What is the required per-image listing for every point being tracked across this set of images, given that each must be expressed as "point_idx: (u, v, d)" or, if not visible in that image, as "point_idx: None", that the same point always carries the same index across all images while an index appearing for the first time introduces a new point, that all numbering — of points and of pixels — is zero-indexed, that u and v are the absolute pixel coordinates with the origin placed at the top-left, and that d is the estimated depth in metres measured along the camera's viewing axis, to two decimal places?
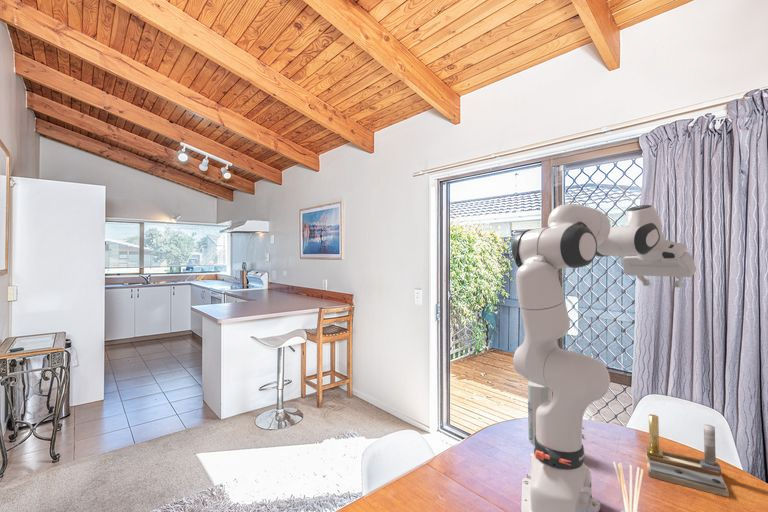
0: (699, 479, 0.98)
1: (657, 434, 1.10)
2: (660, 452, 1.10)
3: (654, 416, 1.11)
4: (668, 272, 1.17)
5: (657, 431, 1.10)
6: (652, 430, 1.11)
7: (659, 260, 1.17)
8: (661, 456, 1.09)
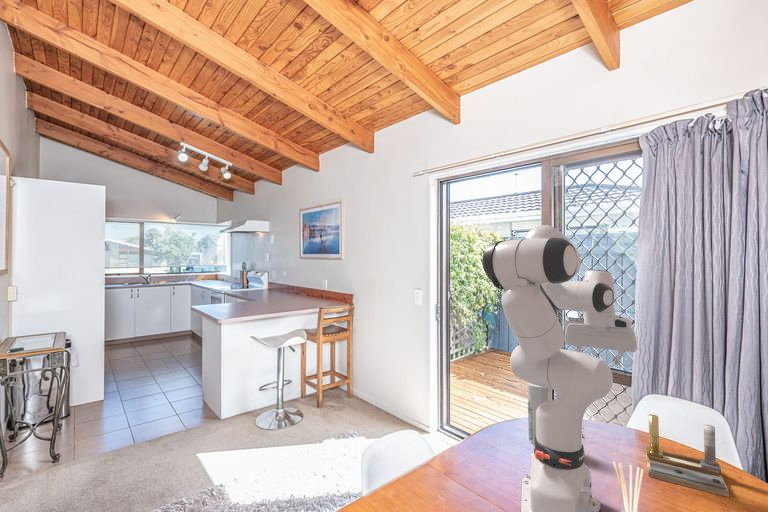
0: (699, 479, 0.98)
1: (657, 434, 1.10)
2: (660, 452, 1.10)
3: (654, 416, 1.11)
4: (613, 344, 1.13)
5: (657, 431, 1.10)
6: (652, 430, 1.11)
7: (607, 330, 1.14)
8: (661, 456, 1.09)
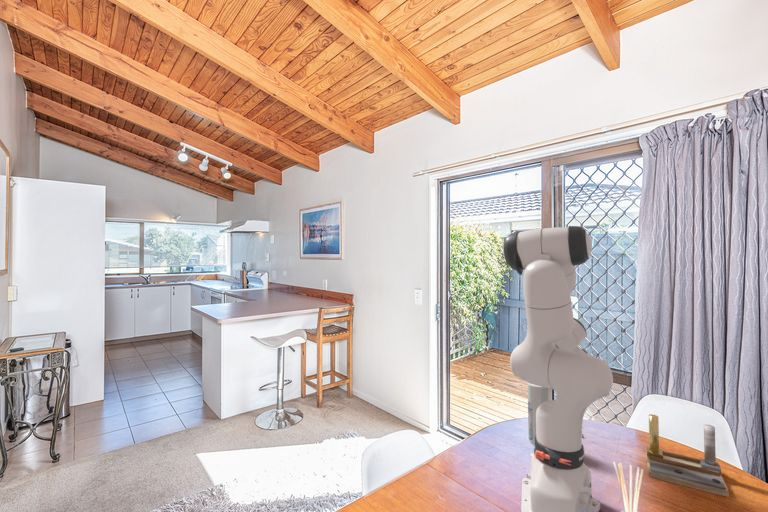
0: (699, 479, 0.98)
1: (657, 434, 1.10)
2: (660, 452, 1.10)
3: (654, 416, 1.11)
4: None
5: (657, 431, 1.10)
6: (652, 430, 1.11)
7: None
8: (661, 456, 1.09)
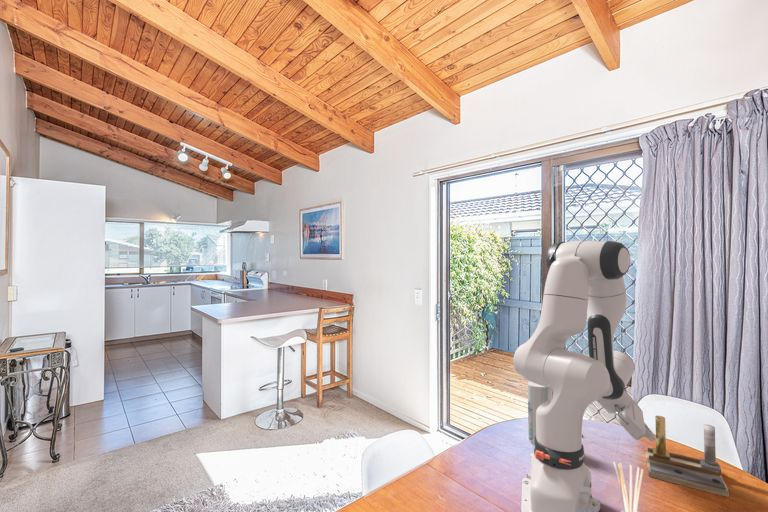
0: (699, 479, 0.98)
1: (664, 435, 1.09)
2: (667, 454, 1.09)
3: (661, 417, 1.10)
4: (639, 413, 1.17)
5: (664, 432, 1.09)
6: (659, 431, 1.10)
7: None
8: (668, 458, 1.08)
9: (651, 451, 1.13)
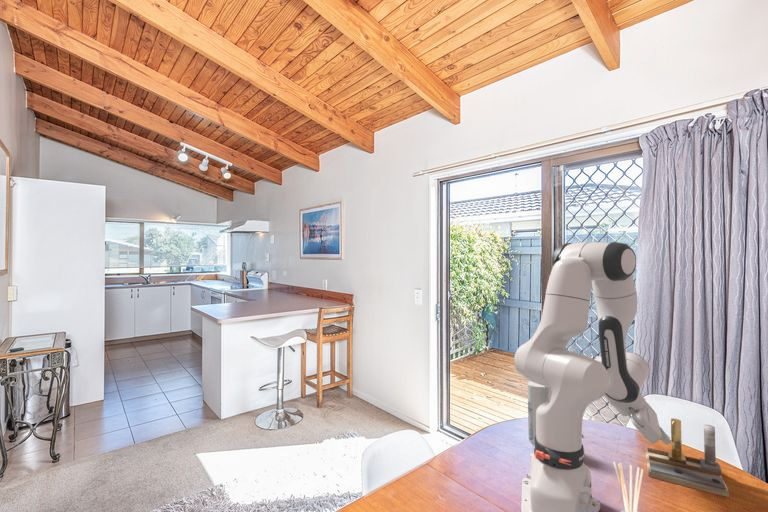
0: (699, 479, 0.98)
1: (680, 439, 1.07)
2: (683, 457, 1.07)
3: (676, 420, 1.08)
4: (654, 416, 1.14)
5: (680, 436, 1.07)
6: (675, 434, 1.08)
7: None
8: (685, 462, 1.06)
9: (651, 451, 1.13)
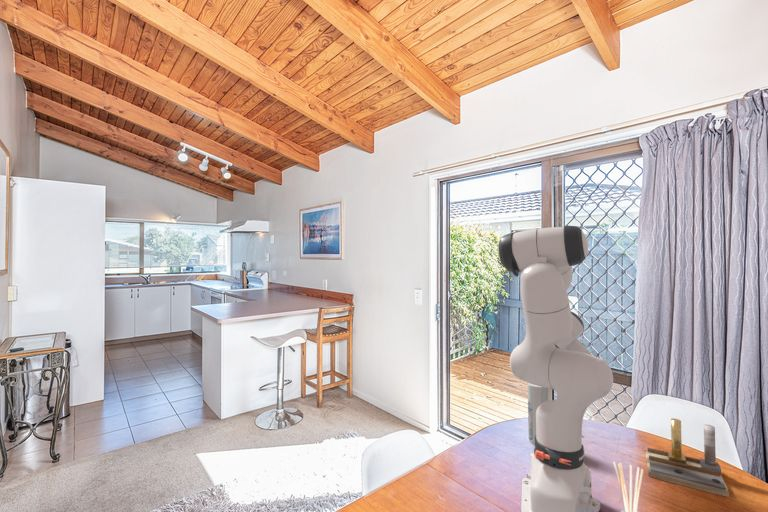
0: (699, 479, 0.98)
1: (680, 439, 1.07)
2: (683, 457, 1.07)
3: (676, 420, 1.08)
4: None
5: (680, 436, 1.07)
6: (675, 434, 1.08)
7: None
8: (685, 462, 1.06)
9: (651, 451, 1.13)
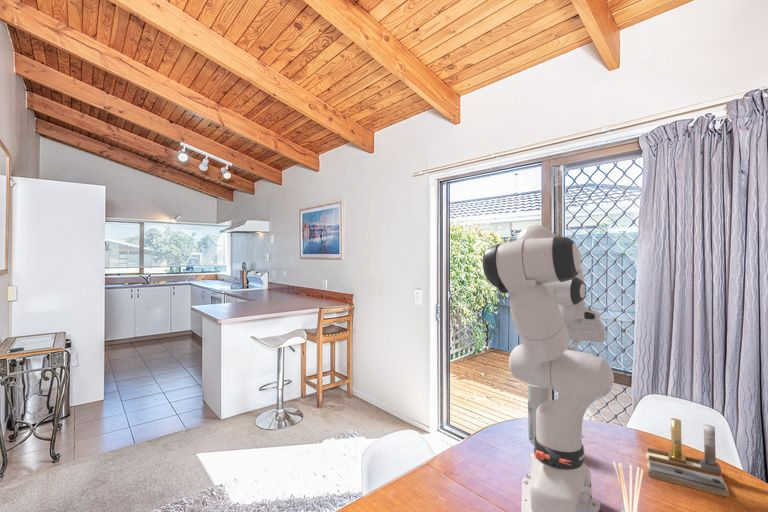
0: (699, 479, 0.98)
1: (680, 439, 1.07)
2: (683, 457, 1.07)
3: (676, 420, 1.08)
4: (583, 336, 1.19)
5: (680, 436, 1.07)
6: (675, 434, 1.08)
7: (578, 322, 1.20)
8: (685, 462, 1.06)
9: (651, 451, 1.13)
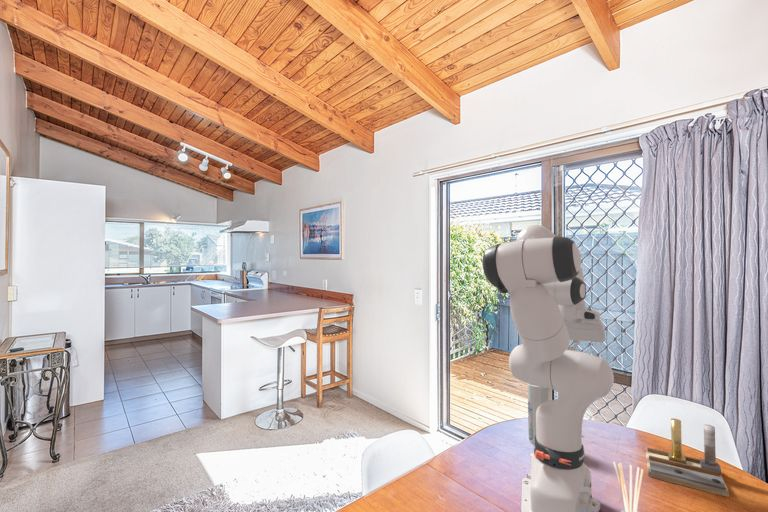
0: (699, 479, 0.98)
1: (680, 439, 1.07)
2: (683, 457, 1.07)
3: (676, 420, 1.08)
4: (583, 335, 1.19)
5: (680, 436, 1.07)
6: (675, 434, 1.08)
7: (577, 321, 1.20)
8: (685, 462, 1.06)
9: (651, 451, 1.13)
